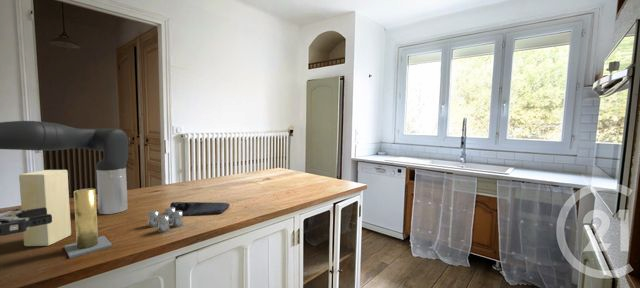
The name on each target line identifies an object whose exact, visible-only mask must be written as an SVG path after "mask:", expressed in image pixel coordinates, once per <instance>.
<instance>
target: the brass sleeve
mask: <svg viewBox="0 0 640 288" xmlns="http://www.w3.org/2000/svg"><path fill="white" fill-rule="evenodd" d="M73 205H74V216H75V217H74V219H75V236H76V237H75V238H76V243H77V248H78V249H84V248H89V247H92V246H95V245H97V244H98V237H99V231H98V214H97V212H98V211H97V195H96V188H82V189H77V190H74V191H73Z"/></svg>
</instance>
